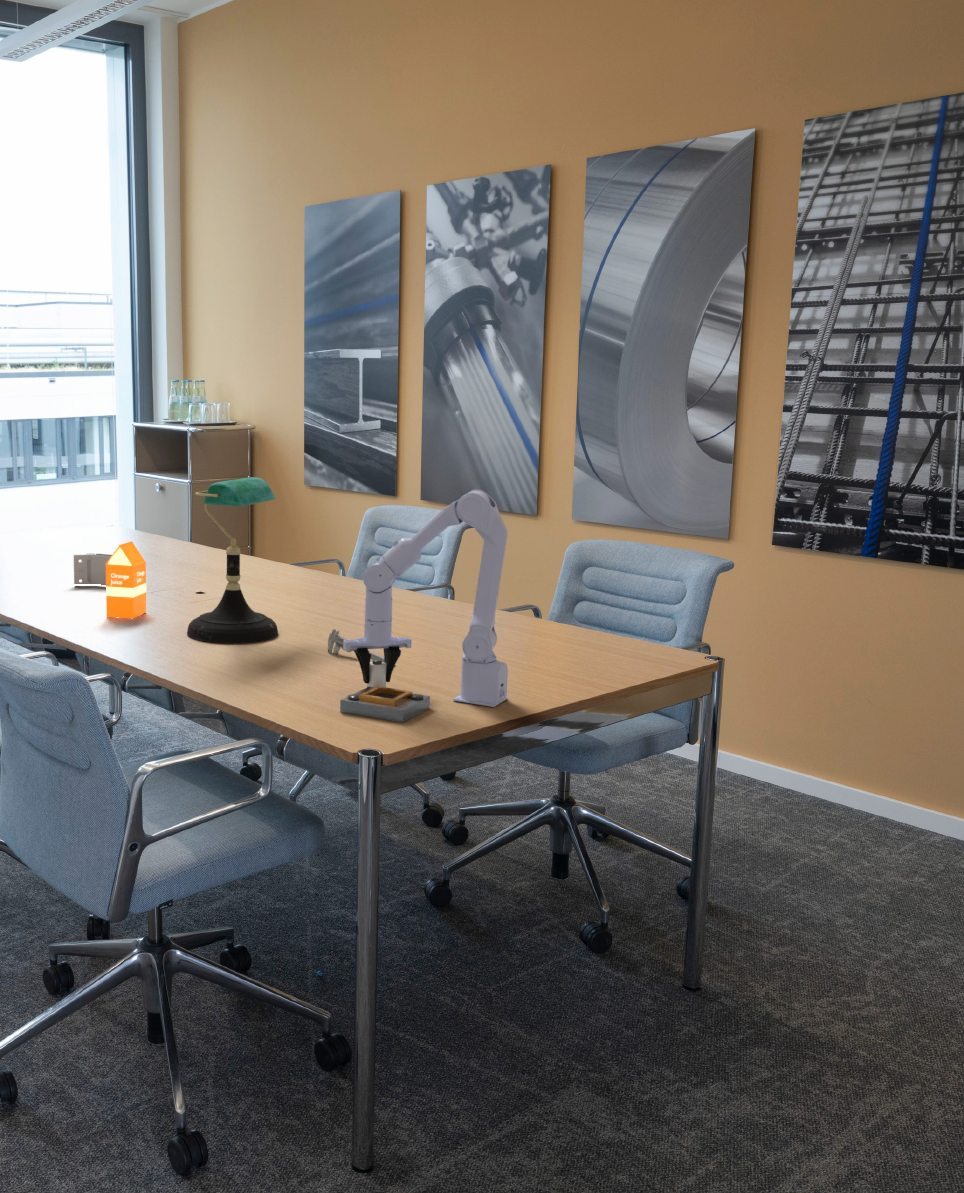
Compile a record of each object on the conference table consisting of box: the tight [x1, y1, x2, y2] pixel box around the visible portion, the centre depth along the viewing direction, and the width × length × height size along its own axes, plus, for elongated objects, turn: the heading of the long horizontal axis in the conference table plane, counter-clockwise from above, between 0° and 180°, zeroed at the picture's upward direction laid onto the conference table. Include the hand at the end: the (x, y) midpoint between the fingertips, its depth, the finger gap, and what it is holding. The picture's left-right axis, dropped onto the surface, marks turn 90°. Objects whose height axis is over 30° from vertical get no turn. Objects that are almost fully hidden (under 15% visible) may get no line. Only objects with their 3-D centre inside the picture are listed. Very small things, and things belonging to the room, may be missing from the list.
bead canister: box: [366, 660, 387, 688], centre depth 233 cm, size 4×4×7 cm
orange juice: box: [105, 541, 147, 619], centre depth 297 cm, size 8×9×20 cm
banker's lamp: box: [186, 476, 279, 644], centre depth 279 cm, size 26×23×40 cm
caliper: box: [327, 629, 397, 668], centre depth 261 cm, size 20×1×6 cm, turn 57°
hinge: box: [73, 552, 113, 585], centre depth 339 cm, size 14×5×10 cm, turn 94°
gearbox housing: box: [339, 686, 431, 724], centre depth 220 cm, size 14×12×4 cm
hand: (376, 681), depth 233 cm, fingers closed on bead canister, 4 cm apart
